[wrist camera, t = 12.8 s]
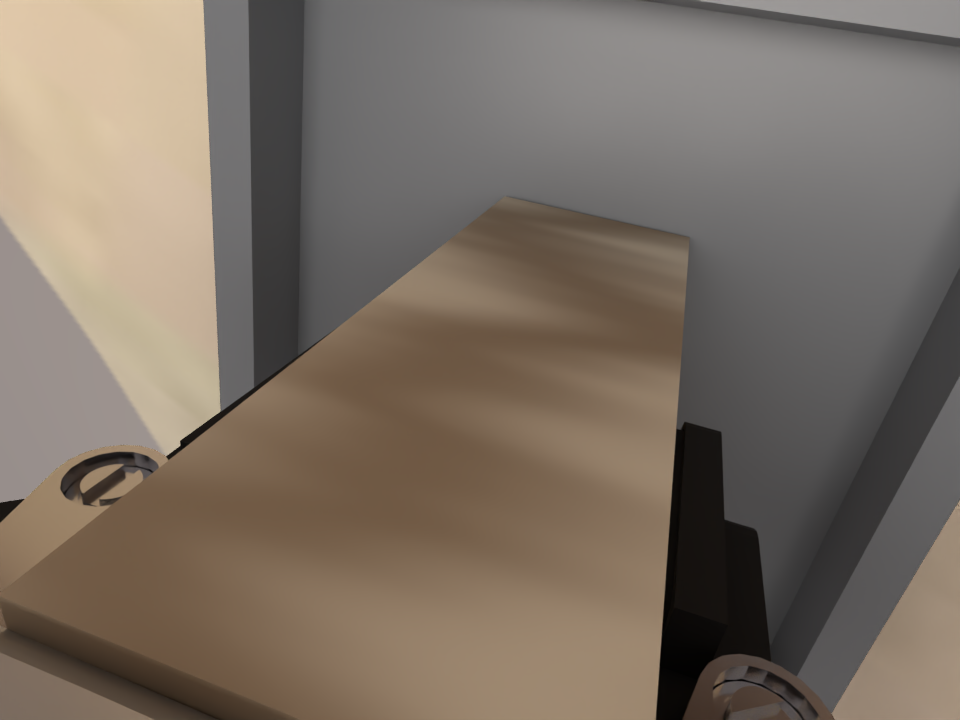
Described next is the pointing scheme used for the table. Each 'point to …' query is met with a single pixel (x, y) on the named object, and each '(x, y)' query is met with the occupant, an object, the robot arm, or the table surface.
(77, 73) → the table surface
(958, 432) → the grey tray
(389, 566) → the birch block
